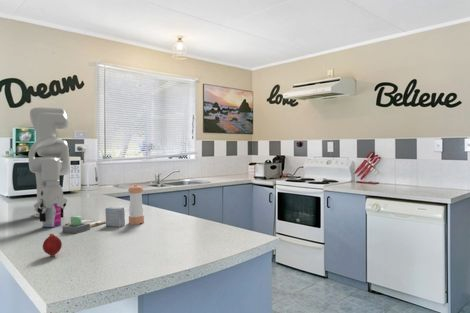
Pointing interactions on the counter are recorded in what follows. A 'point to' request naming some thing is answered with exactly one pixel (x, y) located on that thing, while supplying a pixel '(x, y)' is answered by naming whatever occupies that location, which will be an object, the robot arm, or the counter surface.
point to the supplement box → (52, 217)
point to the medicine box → (115, 216)
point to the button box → (75, 228)
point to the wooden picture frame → (91, 222)
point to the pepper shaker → (136, 205)
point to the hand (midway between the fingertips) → (51, 219)
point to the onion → (52, 245)
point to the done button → (76, 221)
